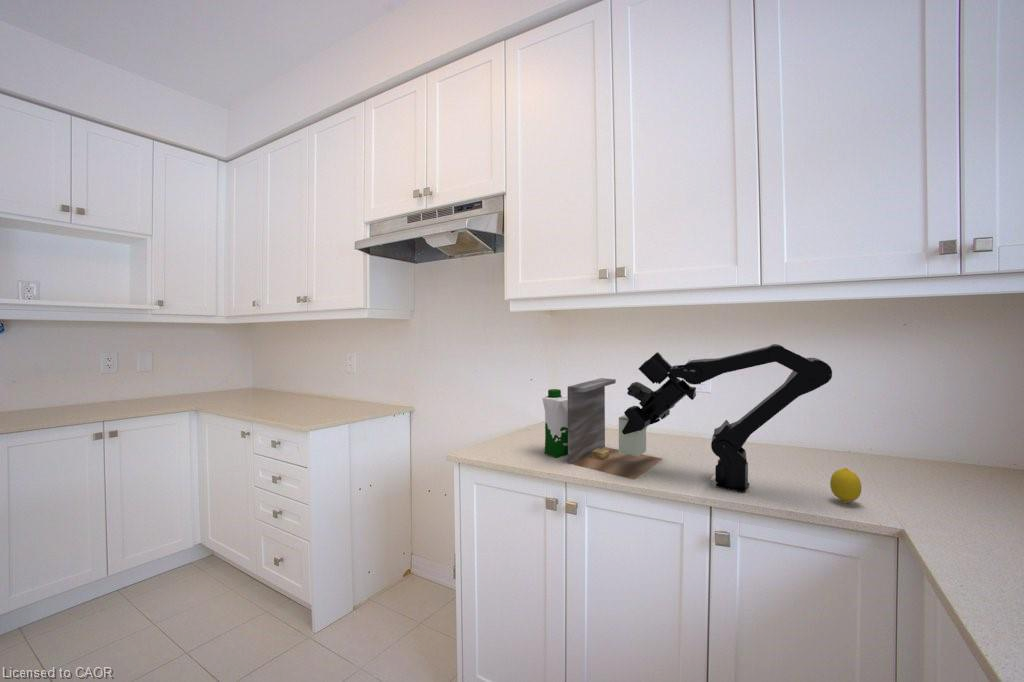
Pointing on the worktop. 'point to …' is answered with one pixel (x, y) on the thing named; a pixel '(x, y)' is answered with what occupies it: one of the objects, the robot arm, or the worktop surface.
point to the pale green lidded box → (631, 440)
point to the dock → (597, 434)
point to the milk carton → (556, 423)
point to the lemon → (845, 485)
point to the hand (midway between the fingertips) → (627, 430)
